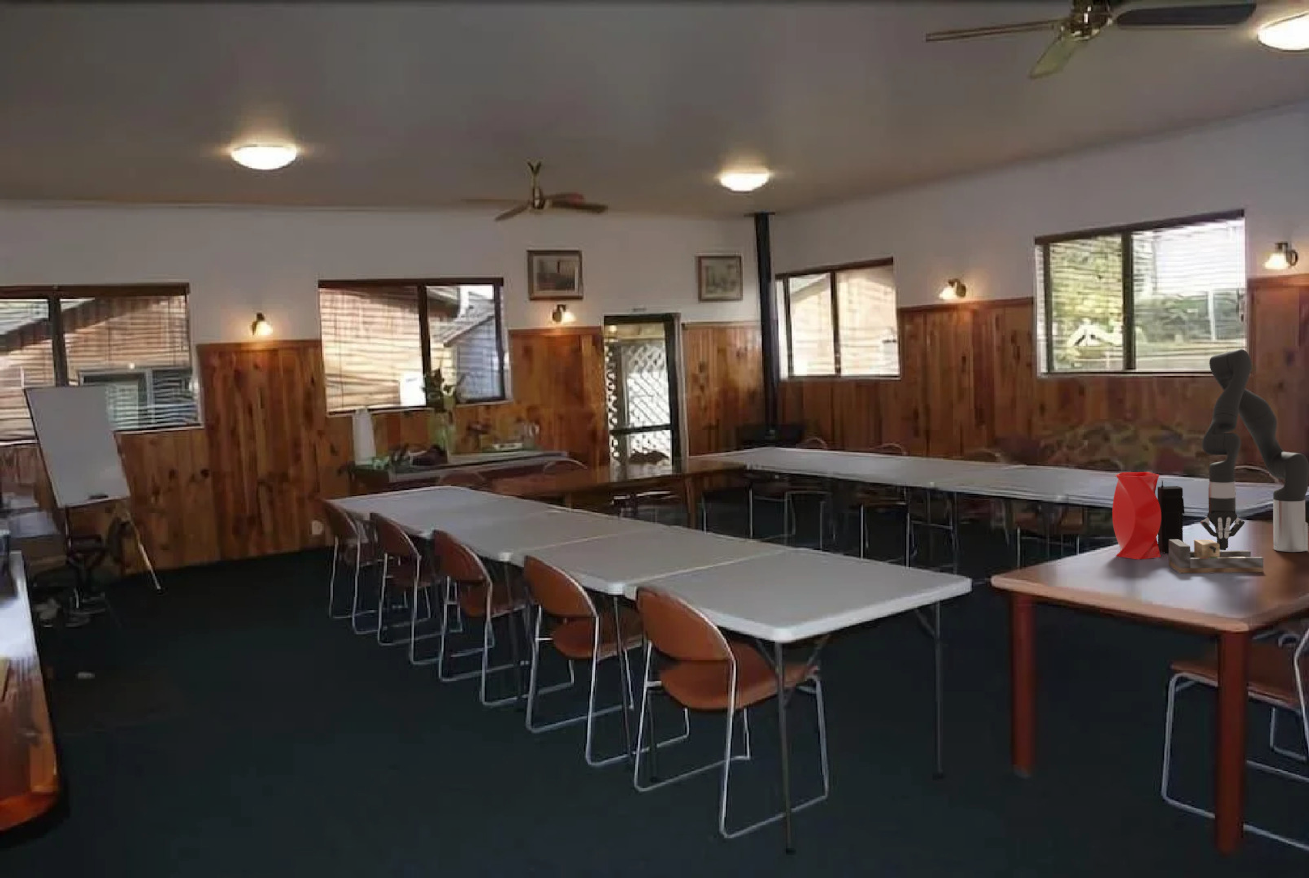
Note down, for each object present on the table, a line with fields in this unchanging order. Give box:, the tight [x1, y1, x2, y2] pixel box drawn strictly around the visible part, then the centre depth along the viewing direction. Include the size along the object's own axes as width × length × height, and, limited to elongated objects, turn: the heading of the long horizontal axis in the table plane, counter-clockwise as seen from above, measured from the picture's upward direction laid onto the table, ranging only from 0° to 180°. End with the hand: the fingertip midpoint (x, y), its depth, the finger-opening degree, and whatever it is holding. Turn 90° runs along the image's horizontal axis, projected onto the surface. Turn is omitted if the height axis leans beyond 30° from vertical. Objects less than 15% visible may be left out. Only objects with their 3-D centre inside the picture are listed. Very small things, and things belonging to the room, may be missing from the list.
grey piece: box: [1168, 539, 1264, 574], centre depth 332 cm, size 24×12×8 cm, turn 79°
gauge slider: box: [1193, 539, 1221, 558], centre depth 330 cm, size 5×12×7 cm, turn 169°
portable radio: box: [1157, 480, 1186, 554], centre depth 359 cm, size 8×6×25 cm
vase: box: [1111, 471, 1162, 560], centre depth 357 cm, size 15×14×28 cm
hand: (1222, 549), depth 331 cm, fingers closed
